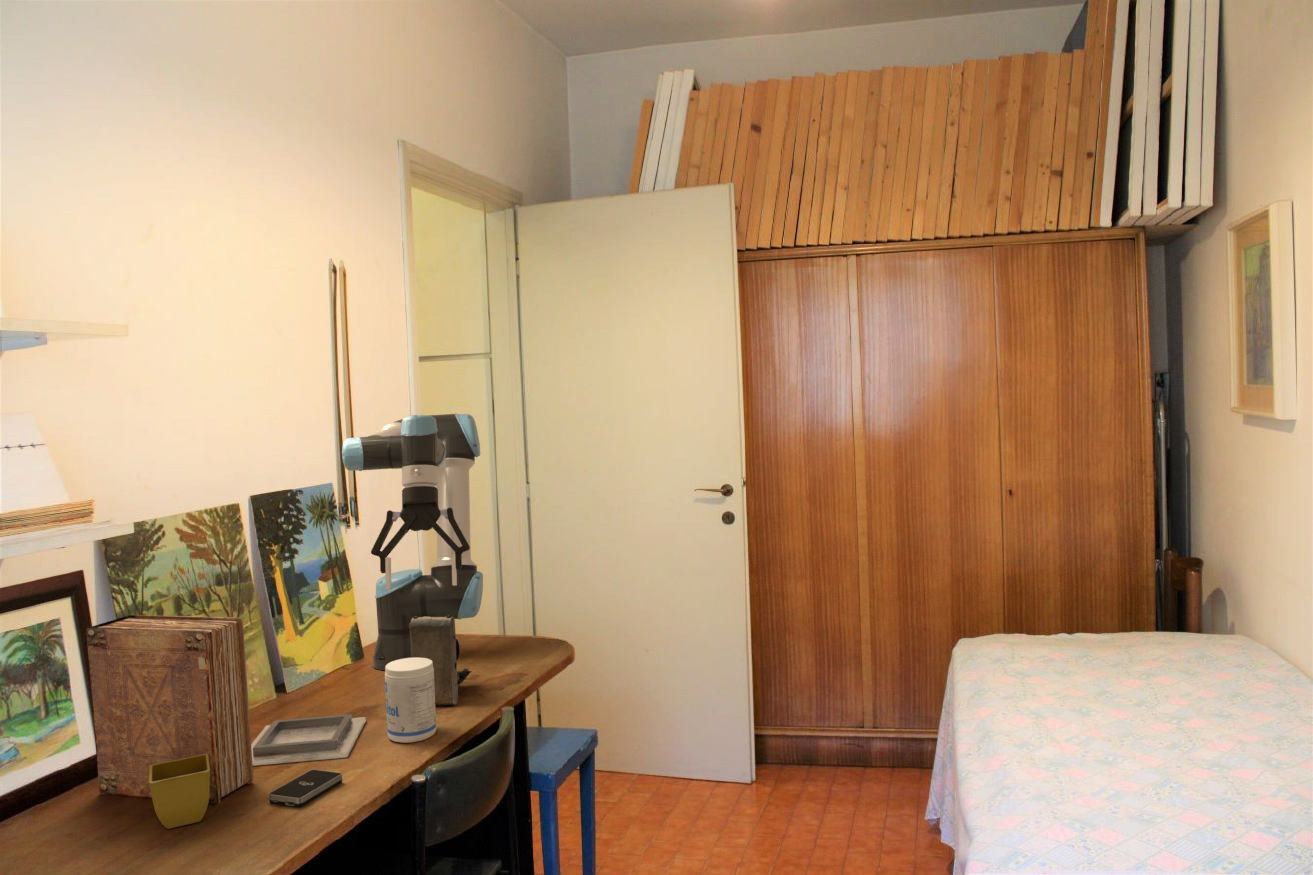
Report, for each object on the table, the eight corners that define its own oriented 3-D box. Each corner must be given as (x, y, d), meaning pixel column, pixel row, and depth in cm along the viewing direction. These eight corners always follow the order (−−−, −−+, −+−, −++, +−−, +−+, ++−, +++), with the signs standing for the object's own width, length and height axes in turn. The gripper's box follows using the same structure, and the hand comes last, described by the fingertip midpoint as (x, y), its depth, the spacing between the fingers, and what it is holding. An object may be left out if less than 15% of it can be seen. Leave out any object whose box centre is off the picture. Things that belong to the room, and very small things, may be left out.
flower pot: (152, 838, 150) (148, 782, 150) (153, 817, 158) (149, 763, 158) (213, 824, 154) (210, 770, 154) (211, 804, 162) (208, 752, 162)
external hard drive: (268, 805, 162) (267, 794, 161) (313, 779, 172) (312, 768, 172) (300, 810, 159) (299, 798, 159) (344, 783, 169) (343, 772, 169)
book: (255, 783, 171) (244, 617, 169) (218, 805, 162) (206, 631, 160) (139, 773, 177) (128, 614, 176) (98, 794, 169) (85, 627, 167)
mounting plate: (266, 729, 198) (266, 717, 198) (365, 721, 201) (365, 709, 201) (237, 767, 178) (236, 753, 178) (347, 757, 181) (346, 743, 181)
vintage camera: (475, 687, 222) (470, 602, 222) (455, 707, 207) (449, 616, 207) (435, 688, 223) (430, 604, 223) (412, 708, 208) (406, 617, 208)
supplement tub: (378, 737, 191) (373, 665, 190) (417, 723, 198) (413, 654, 197) (407, 748, 184) (402, 673, 184) (446, 733, 192) (442, 661, 191)
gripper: (356, 487, 199) (357, 590, 195) (478, 482, 202) (480, 583, 199) (363, 492, 206) (363, 591, 203) (480, 486, 210) (482, 584, 206)
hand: (421, 587), depth 201 cm, fingers open, 13 cm apart
